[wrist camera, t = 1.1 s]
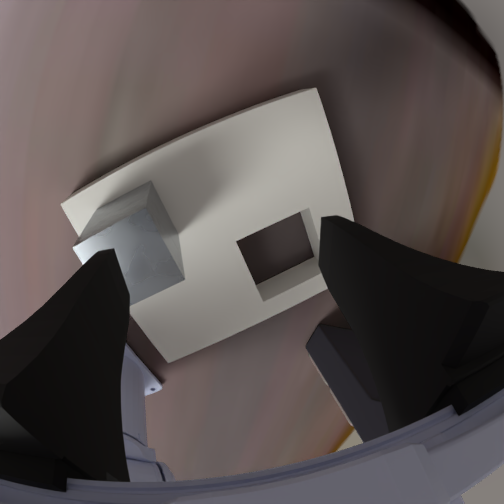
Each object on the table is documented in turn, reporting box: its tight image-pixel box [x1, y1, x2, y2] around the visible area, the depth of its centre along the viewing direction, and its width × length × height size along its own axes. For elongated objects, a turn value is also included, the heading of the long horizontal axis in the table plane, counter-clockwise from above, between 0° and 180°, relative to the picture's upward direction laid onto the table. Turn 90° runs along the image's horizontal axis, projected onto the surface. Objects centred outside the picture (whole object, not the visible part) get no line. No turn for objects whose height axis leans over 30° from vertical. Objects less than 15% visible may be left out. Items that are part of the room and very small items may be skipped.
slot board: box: [61, 88, 354, 363], centre depth 23 cm, size 18×15×2 cm
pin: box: [73, 180, 185, 306], centre depth 17 cm, size 4×4×6 cm
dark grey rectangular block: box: [306, 324, 389, 443], centre depth 26 cm, size 11×4×15 cm, turn 66°
